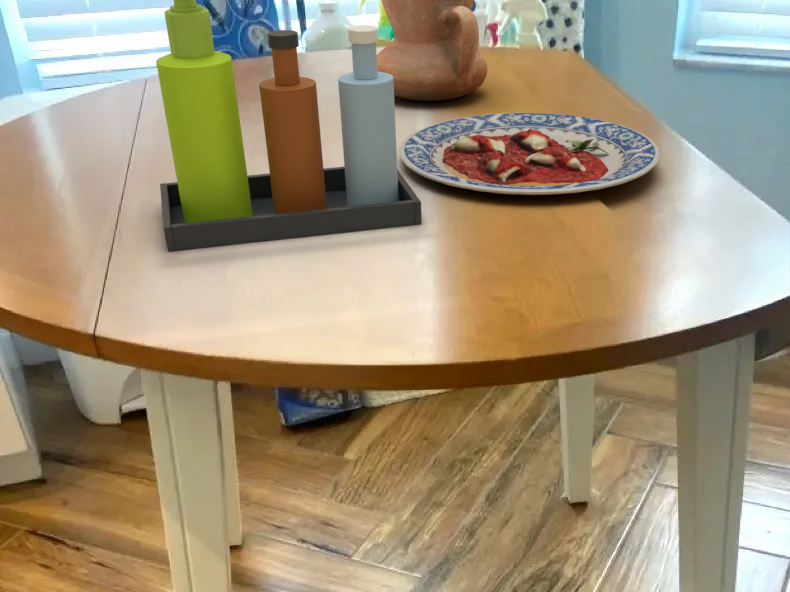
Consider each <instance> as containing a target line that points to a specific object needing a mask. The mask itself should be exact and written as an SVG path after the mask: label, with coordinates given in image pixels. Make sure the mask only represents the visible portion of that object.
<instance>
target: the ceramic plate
mask: <svg viewBox="0 0 790 592" xmlns="http://www.w3.org/2000/svg"><path fill="white" fill-rule="evenodd" d="M398 152H399V157H400V160H401V161H402V163H403V164H404V165H405V166H406V167H407V168H408V169H410V170H411V171H413V172H414V173H416V174H418V175H419V176H421V177H424V178H426V179H428V180H432V181H434V182H437V183H441V184H444V185H447V186H450V187H455V188H460V189H467V190H471V191H476V192H485V193H494V194H503V195H525V196H537V195H538V196H542V195H543V196H544V195H561V194H564V195H565V194H576V193H582V192H584V193H585V192H588V191H589V192H591V191H597V190H602V189H606V188H611V187H615V186H619V185H623V184H626V183H628V182H630V181H633V180H636V179H639V178H640V177H642V176H644V175H646V174H648V173H649V172H650V171H651V170H653V169H654V168H655V166H656V165H657V164H658V162H659V159H660V155H661V154H660V150H659V147H658V145H657V144H656V142H654V141H653V140H652V139H650V138H649V137H648V136H646V135H645V134H644V133H641V132H639V131H637V130H634V129H632V128H629V127H628V126H626V125H623V124H622V125H621V124H619V123H615V122H611V121H606V120H602V119H599V118H594V117H587V116H579V115H571V114H564V113H553V112H552V113H550V112H549V113H547V112H498V113H497V112H496V113H488V114H487V113H486V114H478V115H470V116H463V117H459V118H453V119H448V120H445V121H441V122H437V123H434V124H431V125H428V126H425V127H423V128H421V129H419V130H416V131H415V132H413V133H411V134H410V135H408V136H407V137H406V138H405V139H404V140H403V141H402V143H401V144H400V146H399V149H398ZM444 164H445V165H448V166H449V167H451V168H452V169H453V170H454V171H456V172H457V173H459V174H460V175H464V176H466V178H463V177H459V176H456V175H454V174H452V173H451V172H449V171H448V170H447V168H446V167H445V165H444ZM521 183H538V184H544V185H517V184H521ZM562 183H563V184H562ZM545 184H554V185H545ZM555 184H557V185H555Z"/></svg>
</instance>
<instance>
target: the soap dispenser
mask: <svg viewBox="0 0 790 592" xmlns="http://www.w3.org/2000/svg"><path fill="white" fill-rule="evenodd" d="M164 19H165V24H166V31H167V36H168V37H167V38H168V43H169V48H170V49H169V50H170V53H168V54H165V55H163V56H161V57H159V58H157V59H156V61H155V63H156V69H157V75H158V81H159V87H160V91H161V92H160V93H161V98H162V102H163V109H164V114H165V120H166V125H167V126H166V127H167V131H168V137H169V143H170V148H171V153H172V159H173V166H174V171H175V176H176V182H177V183H178V188H179V194H180V200H181V205H182V211H183V217H184V221H185V223H192V222H202V221H211V220H221V219H231V218H241V217H251V216H252V215H253V214H252V206H251V199H250V191H249V184H248V170H247V162H246V155H245V148H244V141H243V133H242V132H243V131H242V126H241V125H242V123H241V117H240V110H239V105H238V104H239V103H238V96H237V95H238V94H237V89H236V81H235V73H234V66H233V57H232V56H231V55H230V54H228V53H226V52H222V51H217V50H215V45H214V43H215V42H214V37H213V30H212V29H213V28H212V24H211V23H212V22H211V16H210V11H209V9H208V8H206V7H203V5H202V4H199V3H198V2H197V0H173V5H171V6H169V8H168V9H167V10H164Z"/></svg>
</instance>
